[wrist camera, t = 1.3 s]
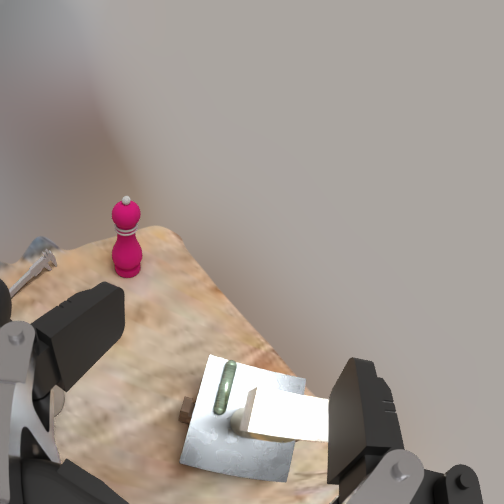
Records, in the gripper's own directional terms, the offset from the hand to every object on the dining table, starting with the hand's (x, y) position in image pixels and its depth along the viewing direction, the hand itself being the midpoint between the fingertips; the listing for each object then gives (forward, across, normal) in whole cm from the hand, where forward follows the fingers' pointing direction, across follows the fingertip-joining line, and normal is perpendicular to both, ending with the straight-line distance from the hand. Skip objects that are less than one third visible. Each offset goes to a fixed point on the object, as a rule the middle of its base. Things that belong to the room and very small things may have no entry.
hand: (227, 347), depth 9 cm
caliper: (+26, -52, -29) cm, 65 cm away
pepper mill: (+44, -33, -25) cm, 60 cm away
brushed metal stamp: (+20, +3, -30) cm, 36 cm away
